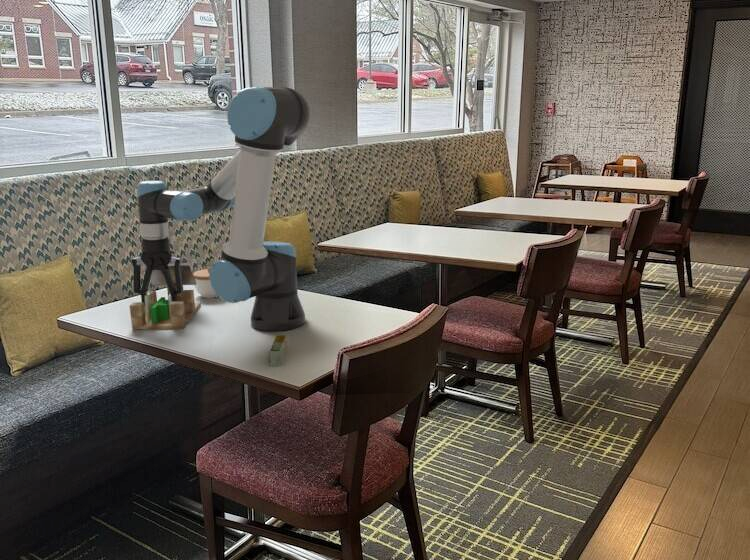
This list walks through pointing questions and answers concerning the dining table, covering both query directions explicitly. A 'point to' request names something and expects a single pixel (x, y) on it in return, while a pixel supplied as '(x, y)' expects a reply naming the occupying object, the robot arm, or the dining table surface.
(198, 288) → the lidded jar
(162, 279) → the plate
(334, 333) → the dining table surface
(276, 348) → the medication box
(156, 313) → the pipe clamp
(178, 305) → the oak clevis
